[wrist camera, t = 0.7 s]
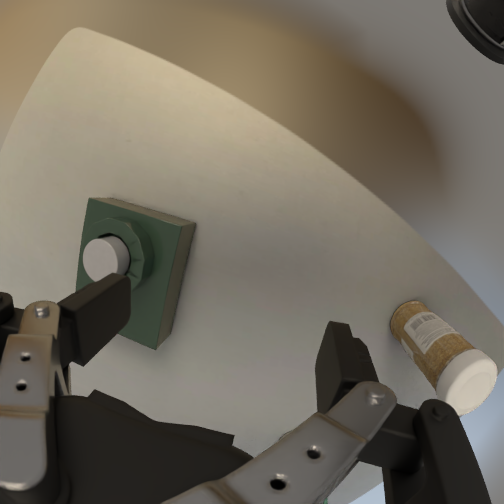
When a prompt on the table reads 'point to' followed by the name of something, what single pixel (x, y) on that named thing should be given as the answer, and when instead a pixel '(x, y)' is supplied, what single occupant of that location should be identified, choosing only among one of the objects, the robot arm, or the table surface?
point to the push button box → (143, 262)
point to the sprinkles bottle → (444, 357)
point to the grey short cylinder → (105, 257)
